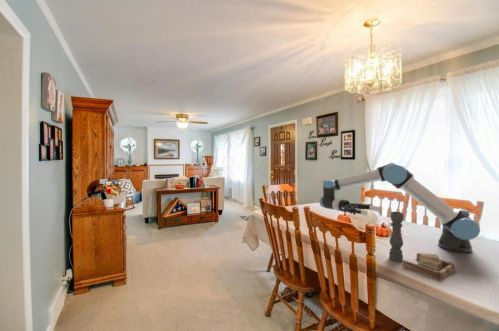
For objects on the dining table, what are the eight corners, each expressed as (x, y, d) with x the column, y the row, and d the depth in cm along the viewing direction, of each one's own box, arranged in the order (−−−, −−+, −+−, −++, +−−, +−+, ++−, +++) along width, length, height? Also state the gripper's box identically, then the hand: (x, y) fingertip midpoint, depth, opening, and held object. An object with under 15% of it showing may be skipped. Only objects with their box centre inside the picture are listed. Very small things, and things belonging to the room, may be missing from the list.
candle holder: (397, 257, 129) (398, 211, 128) (405, 262, 123) (406, 214, 121) (386, 257, 129) (387, 211, 127) (393, 262, 122) (394, 214, 121)
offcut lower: (423, 261, 124) (423, 256, 123) (441, 268, 117) (442, 262, 117) (418, 264, 121) (418, 258, 121) (437, 270, 114) (437, 264, 114)
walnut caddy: (417, 258, 127) (417, 252, 127) (454, 270, 114) (454, 264, 114) (402, 266, 118) (402, 260, 118) (440, 280, 105) (440, 273, 105)
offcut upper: (419, 257, 122) (419, 252, 121) (436, 260, 119) (436, 254, 119) (421, 261, 118) (421, 255, 117) (439, 264, 115) (439, 257, 115)
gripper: (353, 208, 160) (385, 214, 142) (328, 214, 146) (361, 221, 128) (353, 197, 159) (385, 201, 142) (328, 202, 146) (360, 207, 128)
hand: (374, 211), depth 135 cm, fingers open, 13 cm apart
